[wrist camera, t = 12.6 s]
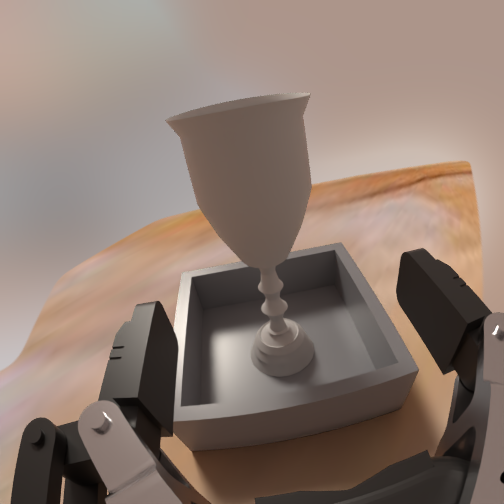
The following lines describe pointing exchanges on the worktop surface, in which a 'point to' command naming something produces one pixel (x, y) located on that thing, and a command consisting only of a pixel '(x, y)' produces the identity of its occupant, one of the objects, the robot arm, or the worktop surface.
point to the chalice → (255, 201)
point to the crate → (296, 385)
